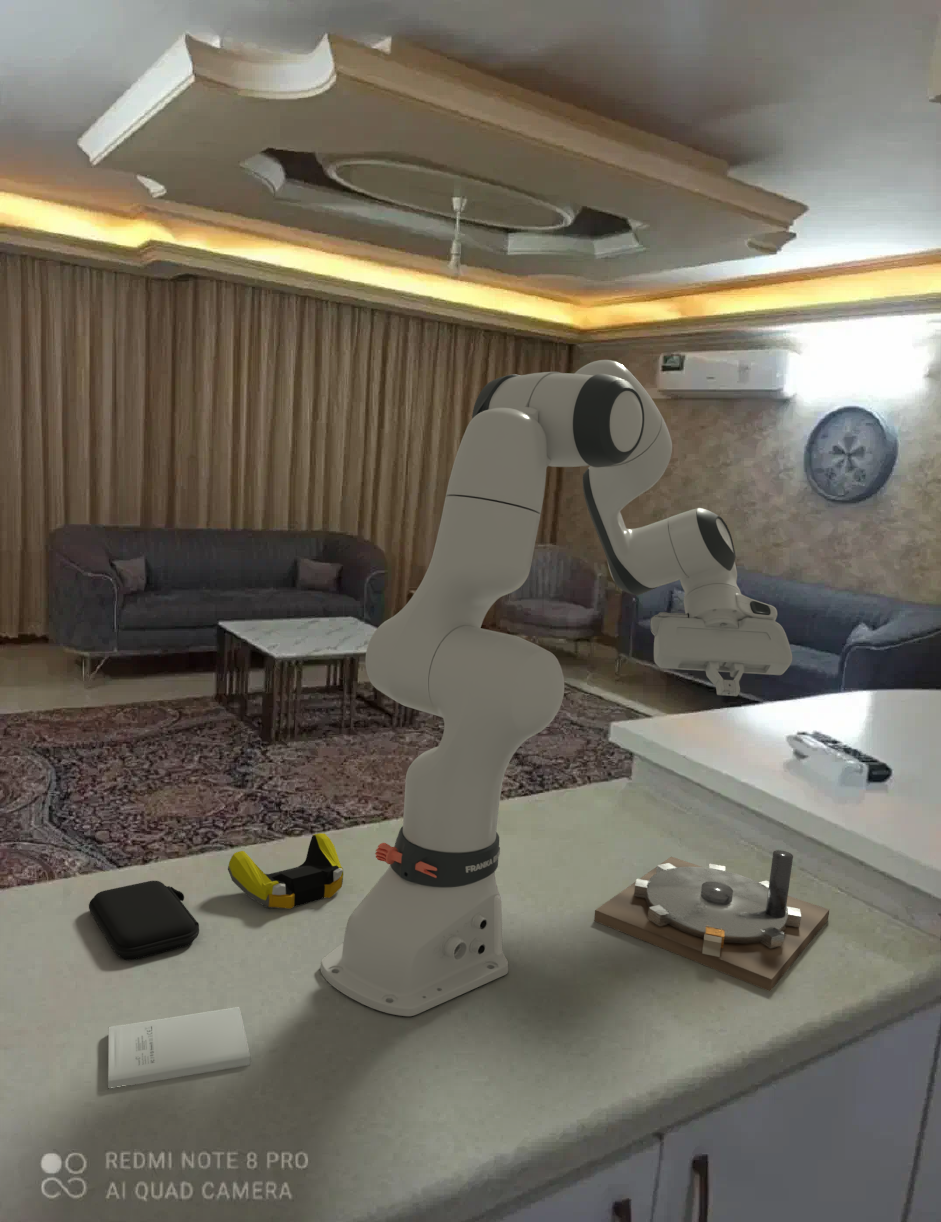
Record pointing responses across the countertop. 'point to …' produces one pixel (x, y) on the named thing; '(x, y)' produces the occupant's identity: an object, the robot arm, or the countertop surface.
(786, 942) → the sprocket base
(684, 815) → the countertop surface
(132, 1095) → the countertop surface
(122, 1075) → the external hard drive
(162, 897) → the carrying case or bag
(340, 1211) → the countertop surface
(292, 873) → the gaming controller
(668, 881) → the sprocket
